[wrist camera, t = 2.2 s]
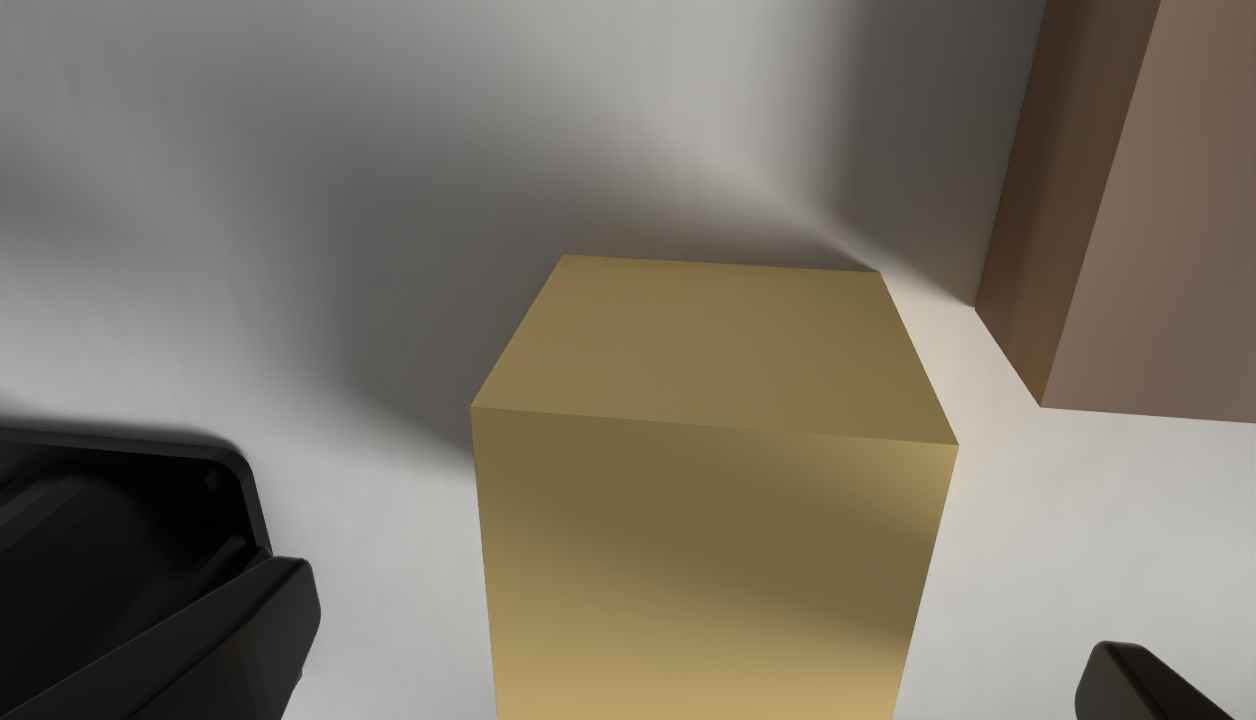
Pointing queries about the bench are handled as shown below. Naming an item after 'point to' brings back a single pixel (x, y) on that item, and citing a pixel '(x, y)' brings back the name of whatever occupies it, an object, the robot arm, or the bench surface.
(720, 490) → the ochre cube
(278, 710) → the robot arm
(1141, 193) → the walnut base
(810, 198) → the bench surface
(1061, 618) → the bench surface
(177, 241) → the bench surface
